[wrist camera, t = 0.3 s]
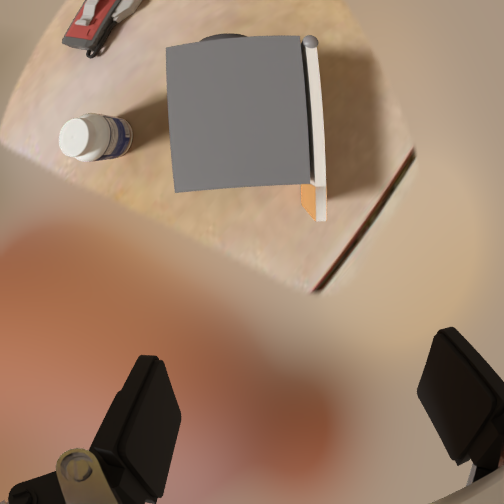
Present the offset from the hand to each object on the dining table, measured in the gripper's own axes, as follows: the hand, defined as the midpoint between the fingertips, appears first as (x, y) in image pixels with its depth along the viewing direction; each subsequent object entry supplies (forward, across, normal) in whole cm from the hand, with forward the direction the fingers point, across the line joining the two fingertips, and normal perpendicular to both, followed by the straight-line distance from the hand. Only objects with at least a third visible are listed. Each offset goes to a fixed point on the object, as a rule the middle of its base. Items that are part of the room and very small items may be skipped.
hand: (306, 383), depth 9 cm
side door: (+27, -5, -10) cm, 29 cm away
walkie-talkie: (+27, +18, -34) cm, 47 cm away
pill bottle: (+28, +18, -12) cm, 35 cm away
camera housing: (+27, +2, -12) cm, 30 cm away
